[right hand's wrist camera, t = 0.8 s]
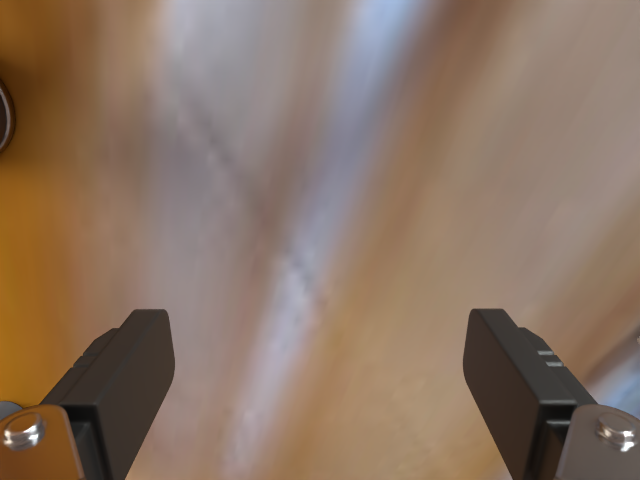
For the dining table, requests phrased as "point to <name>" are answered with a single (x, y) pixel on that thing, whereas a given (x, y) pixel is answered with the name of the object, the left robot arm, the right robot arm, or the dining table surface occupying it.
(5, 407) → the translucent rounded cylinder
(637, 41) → the dining table surface
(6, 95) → the left robot arm
